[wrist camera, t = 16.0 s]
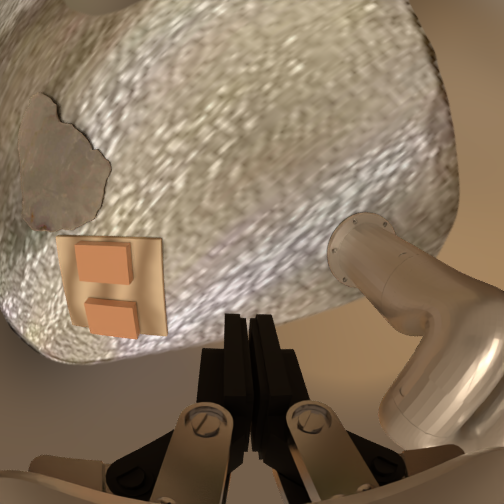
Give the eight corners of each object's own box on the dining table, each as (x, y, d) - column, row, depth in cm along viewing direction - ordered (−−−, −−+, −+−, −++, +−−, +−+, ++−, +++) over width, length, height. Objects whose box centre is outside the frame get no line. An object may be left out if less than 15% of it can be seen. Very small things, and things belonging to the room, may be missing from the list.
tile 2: (132, 308, 41) (83, 303, 40) (137, 339, 43) (90, 333, 42) (136, 301, 43) (89, 296, 42) (140, 331, 45) (95, 326, 44)
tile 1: (125, 246, 38) (74, 244, 37) (129, 285, 40) (79, 281, 39) (131, 242, 40) (81, 240, 39) (133, 278, 42) (85, 275, 41)
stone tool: (128, 202, 40) (83, 65, 31) (121, 207, 37) (74, 60, 28) (42, 246, 40) (2, 124, 31) (32, 252, 37) (-9, 124, 28)
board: (162, 238, 41) (160, 239, 40) (167, 333, 47) (166, 336, 46) (58, 234, 40) (55, 236, 39) (74, 322, 45) (72, 324, 44)
